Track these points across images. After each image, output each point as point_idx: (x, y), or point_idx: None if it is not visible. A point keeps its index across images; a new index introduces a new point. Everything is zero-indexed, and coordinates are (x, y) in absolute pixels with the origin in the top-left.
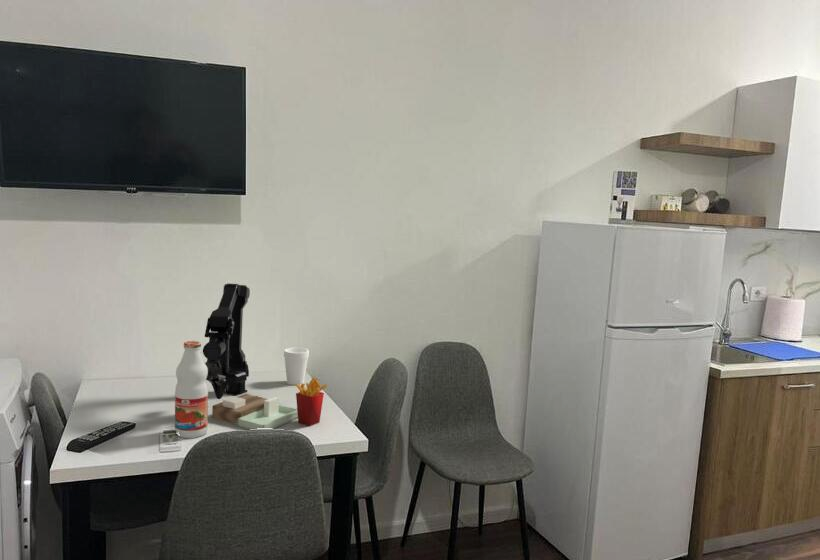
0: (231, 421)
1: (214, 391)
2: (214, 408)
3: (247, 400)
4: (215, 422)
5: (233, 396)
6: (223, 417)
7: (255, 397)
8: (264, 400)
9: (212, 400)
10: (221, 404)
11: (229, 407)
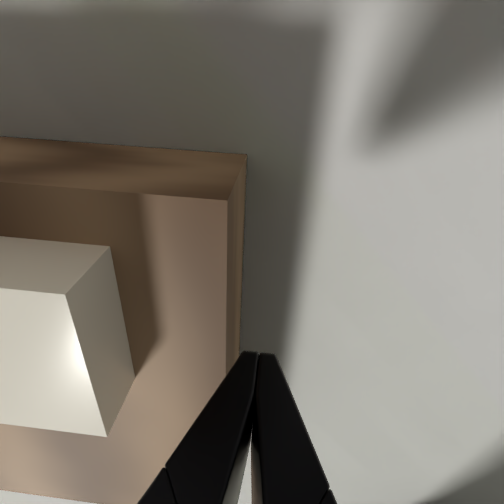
0: (4, 140)
1: (309, 444)
2: (198, 185)
3: (91, 441)
4: (114, 48)
5: (104, 434)
6: (91, 151)
7: (111, 493)
8: (12, 471)
9: (484, 434)
10: (170, 283)
11: (2, 238)
